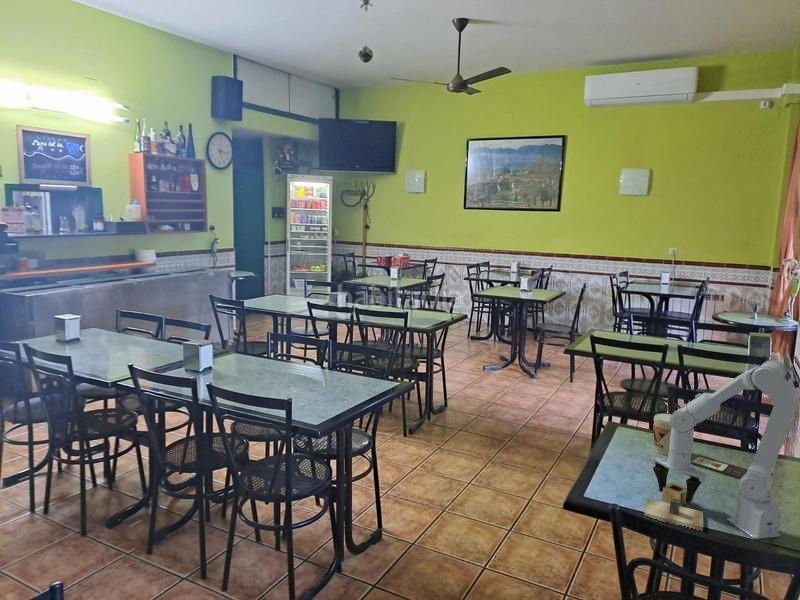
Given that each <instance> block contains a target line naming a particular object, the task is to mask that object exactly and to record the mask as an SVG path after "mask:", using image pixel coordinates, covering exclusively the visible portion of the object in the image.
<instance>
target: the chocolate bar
mask: <svg viewBox="0 0 800 600" xmlns="http://www.w3.org/2000/svg"><path fill="white" fill-rule="evenodd" d="M691 465H692V466H695V467H698V468H700V469H701V468H702V469H704V468H705V469H704V470H708V471H711V472H715V473H718V474H721V475H724V476H727V477H731V478H733V477H734V479H737V480H740V479H741V478H742V477H743V476H744V475H745V474H746V472H747V470H748V469H749V468H745V467H740V466H737V465H734V464H731V463H727V462H724V461H722V460H721V461H720V460H718V459H717V460H716V459H714V458H710V457H707V456H703V455H701V454H700V455H699V456H698V457H696V458H695V459H693V460H691V463H690V466H691Z"/></svg>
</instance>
